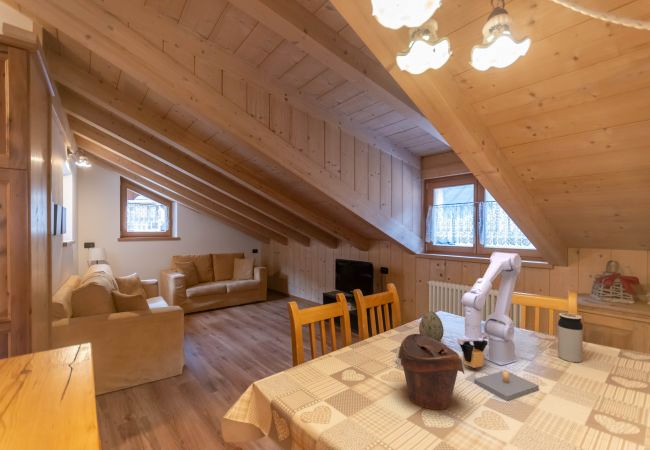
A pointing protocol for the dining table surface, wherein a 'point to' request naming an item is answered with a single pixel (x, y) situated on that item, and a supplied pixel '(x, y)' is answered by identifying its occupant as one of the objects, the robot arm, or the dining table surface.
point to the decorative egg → (431, 326)
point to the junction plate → (506, 385)
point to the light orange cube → (475, 358)
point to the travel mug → (570, 337)
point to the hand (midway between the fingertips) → (473, 359)
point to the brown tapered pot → (429, 370)
